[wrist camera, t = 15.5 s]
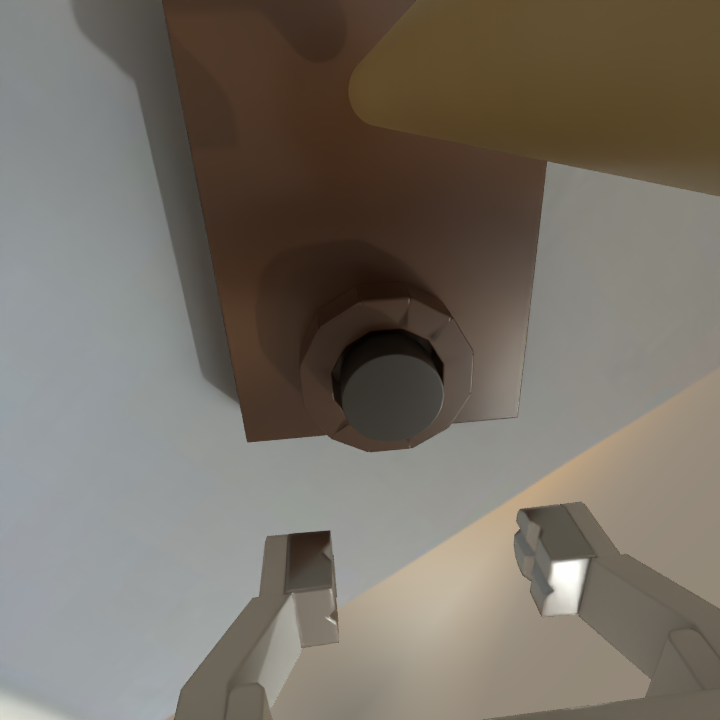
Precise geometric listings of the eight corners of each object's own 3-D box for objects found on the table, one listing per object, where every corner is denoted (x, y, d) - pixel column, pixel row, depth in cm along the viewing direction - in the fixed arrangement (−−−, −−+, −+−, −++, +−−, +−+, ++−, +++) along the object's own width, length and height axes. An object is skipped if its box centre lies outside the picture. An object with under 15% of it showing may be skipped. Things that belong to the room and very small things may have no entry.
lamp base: (501, 392, 24) (534, 442, 20) (252, 415, 23) (241, 470, 19) (539, -16, 16) (602, -52, 13) (177, 0, 16) (137, -33, 12)
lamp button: (432, 411, 19) (443, 437, 18) (342, 419, 19) (345, 446, 18) (434, 329, 18) (445, 349, 16) (336, 337, 18) (338, 358, 16)
